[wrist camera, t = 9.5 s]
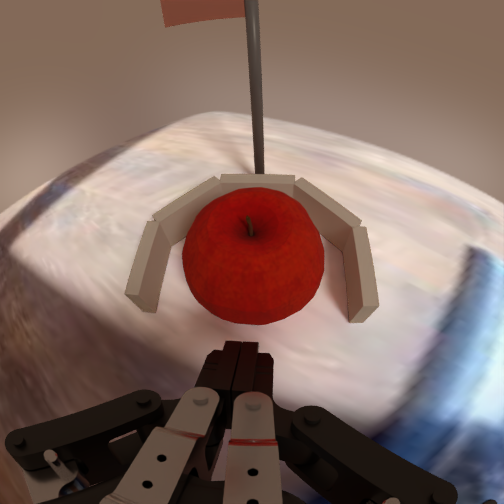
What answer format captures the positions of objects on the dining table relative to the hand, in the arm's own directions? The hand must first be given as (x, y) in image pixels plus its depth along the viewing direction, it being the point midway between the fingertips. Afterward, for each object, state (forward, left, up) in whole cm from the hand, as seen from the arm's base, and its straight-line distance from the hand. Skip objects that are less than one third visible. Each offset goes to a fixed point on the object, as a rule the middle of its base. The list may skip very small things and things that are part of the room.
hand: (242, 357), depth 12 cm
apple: (-5, +3, -4) cm, 7 cm away
